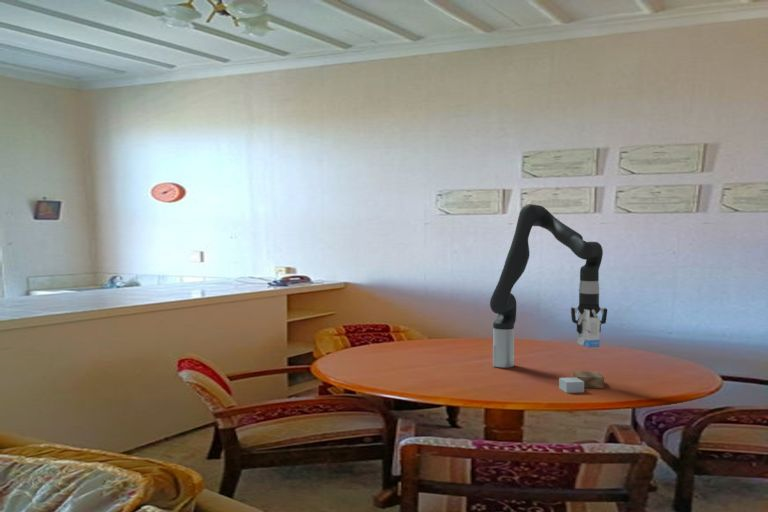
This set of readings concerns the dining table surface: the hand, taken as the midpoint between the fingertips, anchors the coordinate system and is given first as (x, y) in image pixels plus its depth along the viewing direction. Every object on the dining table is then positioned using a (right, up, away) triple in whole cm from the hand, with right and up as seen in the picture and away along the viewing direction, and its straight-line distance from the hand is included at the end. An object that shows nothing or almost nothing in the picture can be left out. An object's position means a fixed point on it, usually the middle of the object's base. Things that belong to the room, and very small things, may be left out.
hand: (588, 333), depth 242 cm
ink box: (0, -5, 0) cm, 5 cm away
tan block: (0, -20, +1) cm, 20 cm away
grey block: (-9, -21, -8) cm, 24 cm away
